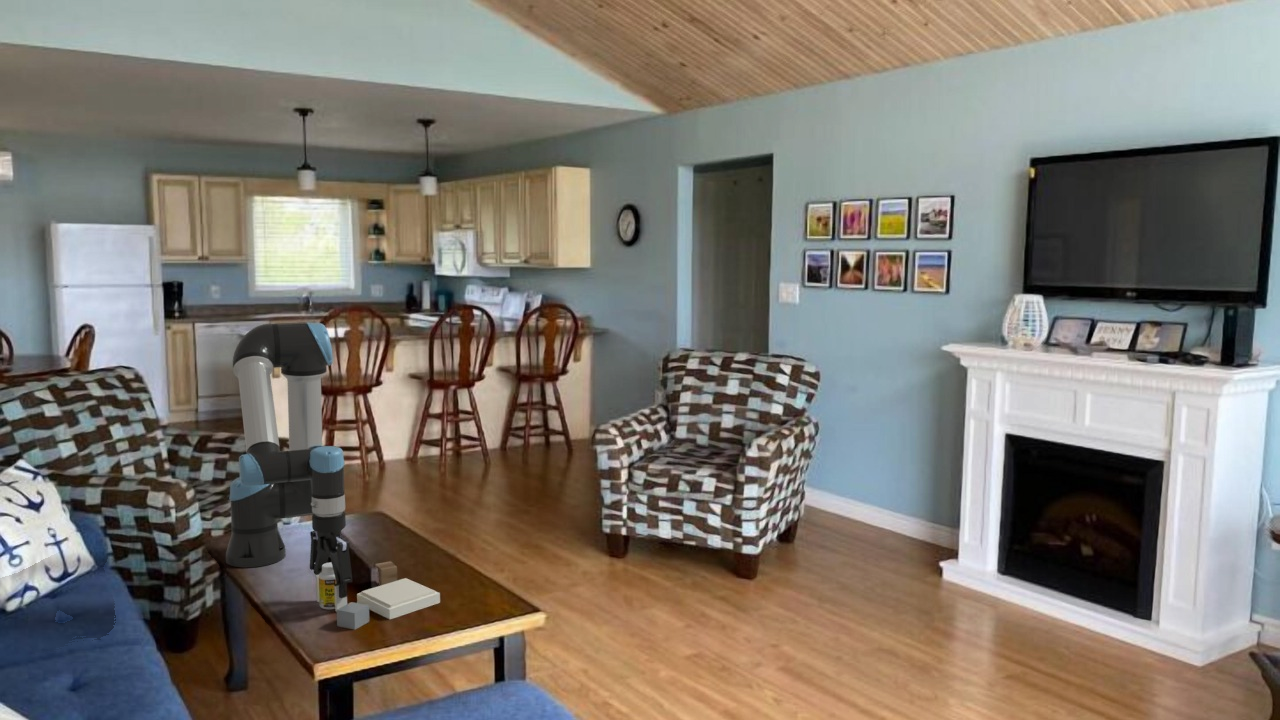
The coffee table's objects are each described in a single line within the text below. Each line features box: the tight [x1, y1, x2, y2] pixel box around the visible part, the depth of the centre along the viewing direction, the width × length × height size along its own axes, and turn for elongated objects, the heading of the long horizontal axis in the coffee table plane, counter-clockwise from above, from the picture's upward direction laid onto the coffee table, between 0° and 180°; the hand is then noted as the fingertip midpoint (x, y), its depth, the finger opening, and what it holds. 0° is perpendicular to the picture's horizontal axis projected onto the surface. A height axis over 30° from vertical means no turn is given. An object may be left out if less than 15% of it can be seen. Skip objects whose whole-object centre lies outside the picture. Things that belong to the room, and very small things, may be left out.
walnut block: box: [375, 560, 398, 586], centre depth 240 cm, size 5×4×5 cm
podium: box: [356, 577, 441, 620], centre depth 227 cm, size 14×14×3 cm
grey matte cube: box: [336, 601, 370, 631], centre depth 215 cm, size 5×5×4 cm
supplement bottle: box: [318, 561, 336, 610], centre depth 225 cm, size 6×6×10 cm
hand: (331, 604), depth 225 cm, fingers open, 8 cm apart
